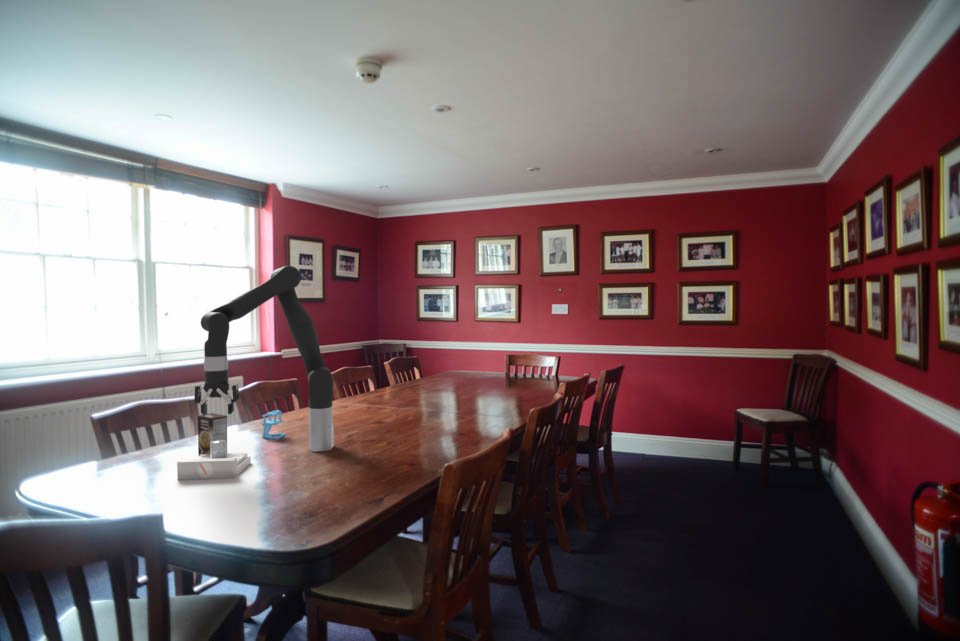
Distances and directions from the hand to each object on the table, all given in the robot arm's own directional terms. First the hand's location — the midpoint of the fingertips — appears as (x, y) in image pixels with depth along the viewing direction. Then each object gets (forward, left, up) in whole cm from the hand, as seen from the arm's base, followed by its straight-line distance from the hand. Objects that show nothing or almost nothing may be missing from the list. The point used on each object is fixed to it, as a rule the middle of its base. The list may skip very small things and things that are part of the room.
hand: (217, 414), depth 177 cm
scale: (0, +2, -20) cm, 20 cm away
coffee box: (+8, -15, -20) cm, 26 cm away
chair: (-6, -42, -20) cm, 47 cm away
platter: (0, 0, -17) cm, 17 cm away
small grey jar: (0, 0, -16) cm, 16 cm away
